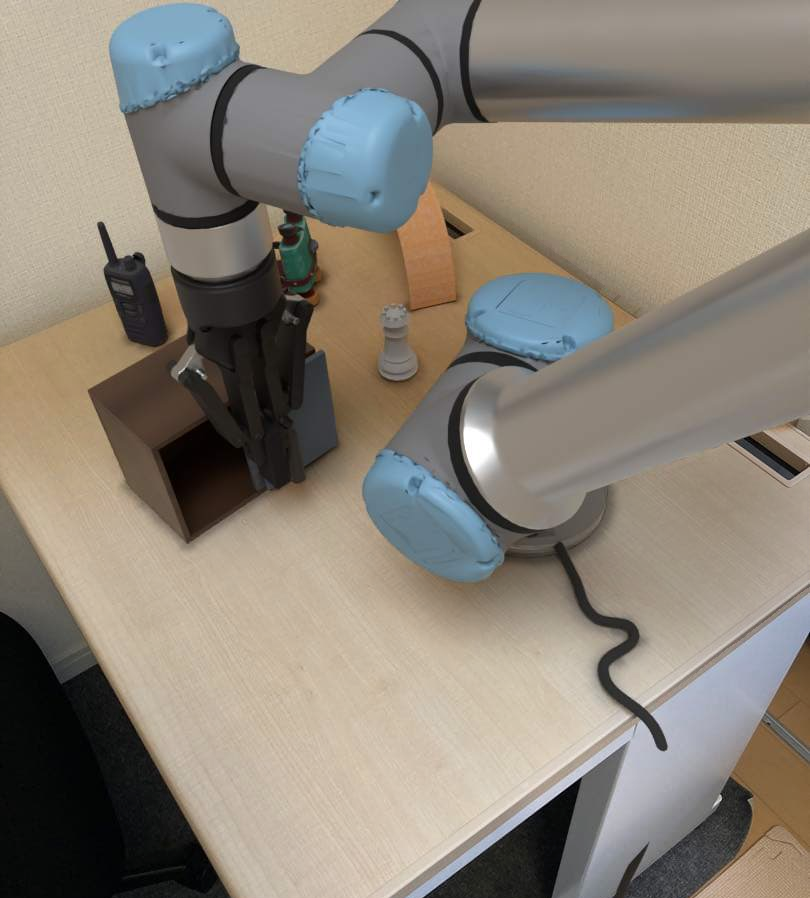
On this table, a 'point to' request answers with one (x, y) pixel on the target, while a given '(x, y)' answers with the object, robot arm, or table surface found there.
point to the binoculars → (298, 257)
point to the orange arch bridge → (427, 254)
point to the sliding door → (311, 420)
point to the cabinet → (175, 444)
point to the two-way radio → (133, 294)
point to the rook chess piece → (396, 345)
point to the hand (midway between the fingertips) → (275, 477)
